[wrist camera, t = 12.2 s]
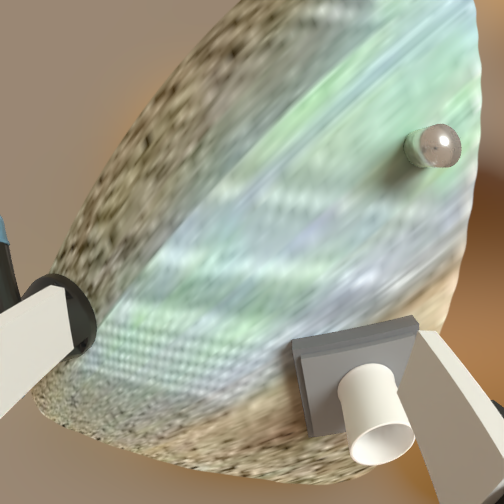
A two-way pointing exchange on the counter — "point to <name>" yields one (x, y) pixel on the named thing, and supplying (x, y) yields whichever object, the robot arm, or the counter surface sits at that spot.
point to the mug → (374, 415)
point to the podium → (346, 366)
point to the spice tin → (433, 146)
